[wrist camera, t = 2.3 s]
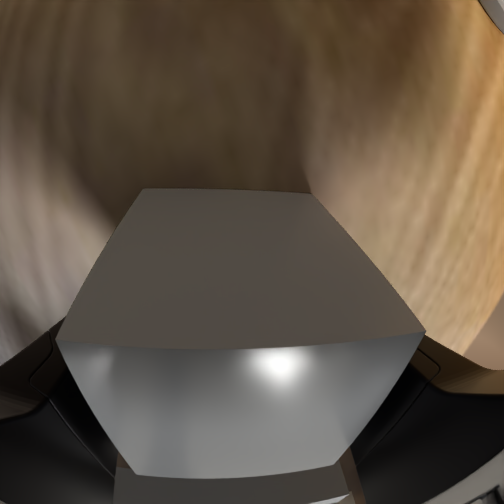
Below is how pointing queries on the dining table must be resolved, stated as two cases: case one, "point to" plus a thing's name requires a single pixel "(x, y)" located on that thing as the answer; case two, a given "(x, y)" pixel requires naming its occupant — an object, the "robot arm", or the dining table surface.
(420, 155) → the dining table surface
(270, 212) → the light gray block
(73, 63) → the dining table surface
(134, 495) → the trapdoor
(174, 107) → the dining table surface
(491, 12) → the travel mug
